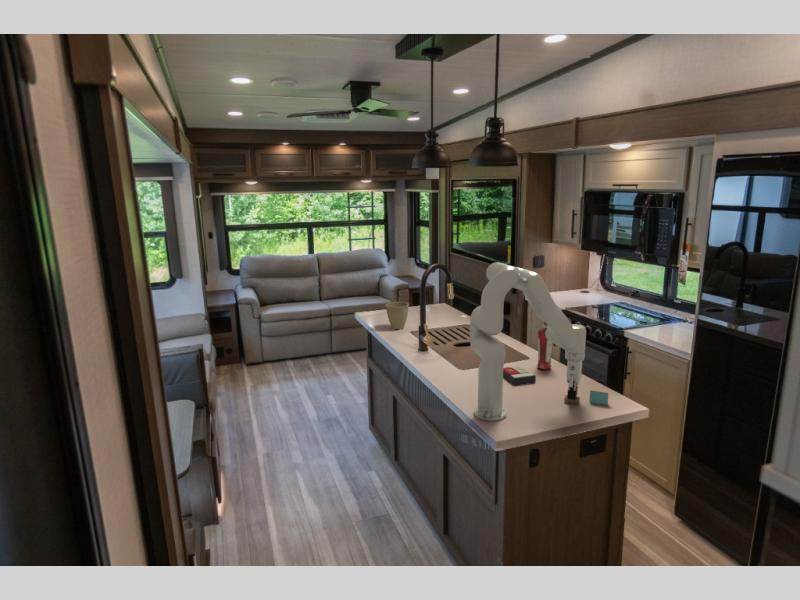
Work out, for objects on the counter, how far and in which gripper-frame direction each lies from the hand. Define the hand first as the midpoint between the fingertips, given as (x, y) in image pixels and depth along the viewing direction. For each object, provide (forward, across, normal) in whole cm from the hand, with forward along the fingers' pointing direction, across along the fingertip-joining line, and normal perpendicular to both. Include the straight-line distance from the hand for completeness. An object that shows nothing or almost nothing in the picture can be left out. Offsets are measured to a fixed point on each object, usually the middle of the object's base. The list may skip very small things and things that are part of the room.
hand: (572, 396), depth 208 cm
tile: (+3, +4, -10) cm, 11 cm away
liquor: (+3, +36, +18) cm, 40 cm away
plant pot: (+3, +73, +117) cm, 138 cm away
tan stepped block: (+3, 0, 0) cm, 3 cm away
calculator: (+4, +18, +27) cm, 33 cm away
